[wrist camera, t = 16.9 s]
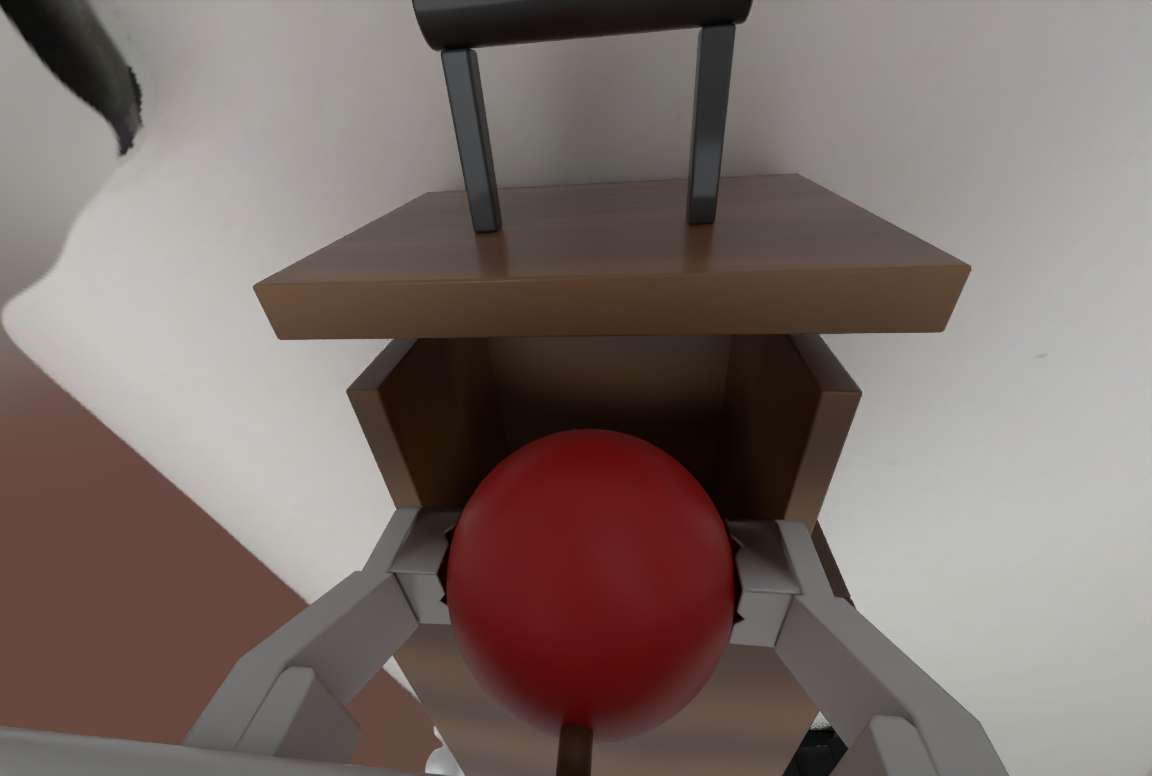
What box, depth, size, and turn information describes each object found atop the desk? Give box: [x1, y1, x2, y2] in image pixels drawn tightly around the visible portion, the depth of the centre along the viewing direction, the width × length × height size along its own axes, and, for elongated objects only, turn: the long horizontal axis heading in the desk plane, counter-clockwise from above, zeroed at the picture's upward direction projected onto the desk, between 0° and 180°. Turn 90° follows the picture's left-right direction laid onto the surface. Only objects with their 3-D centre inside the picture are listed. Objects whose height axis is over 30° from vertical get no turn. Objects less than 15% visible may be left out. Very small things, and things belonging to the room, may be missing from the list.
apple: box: [446, 429, 736, 776], centre depth 9 cm, size 6×6×7 cm
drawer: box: [253, 0, 971, 537], centre depth 14 cm, size 20×13×9 cm, turn 4°
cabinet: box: [393, 520, 856, 776], centre depth 21 cm, size 16×14×11 cm
